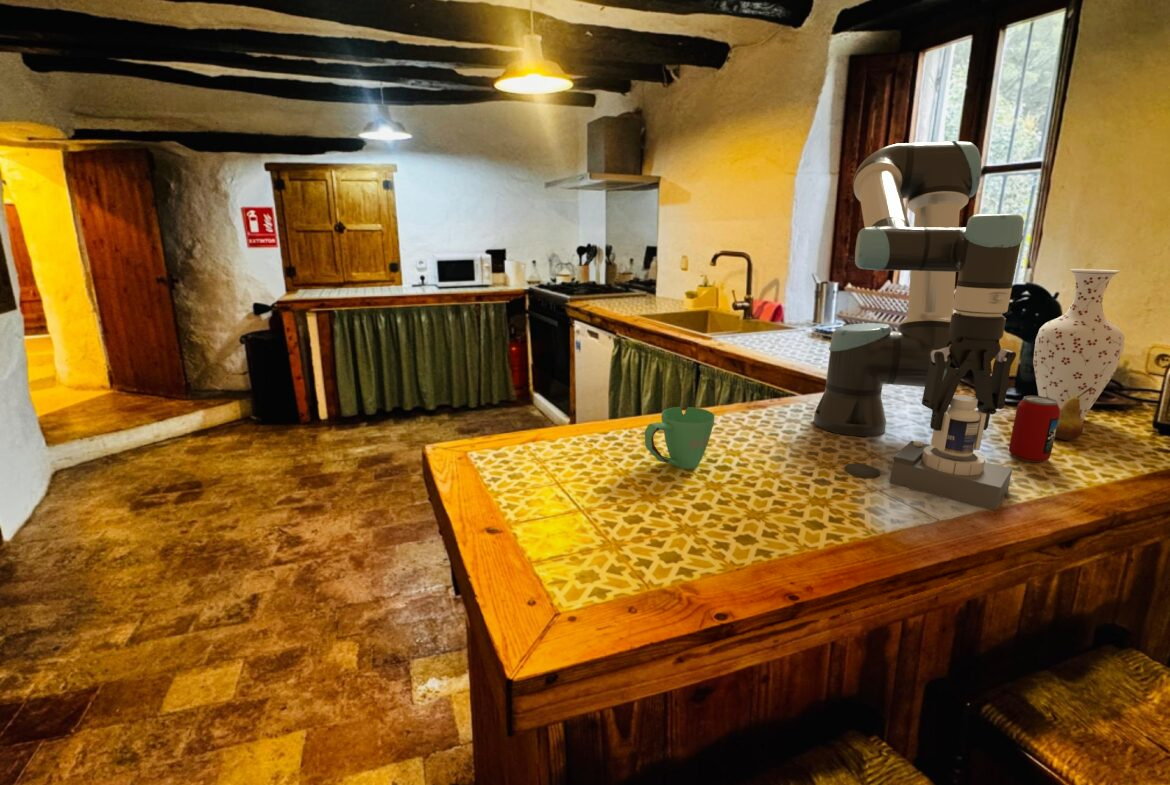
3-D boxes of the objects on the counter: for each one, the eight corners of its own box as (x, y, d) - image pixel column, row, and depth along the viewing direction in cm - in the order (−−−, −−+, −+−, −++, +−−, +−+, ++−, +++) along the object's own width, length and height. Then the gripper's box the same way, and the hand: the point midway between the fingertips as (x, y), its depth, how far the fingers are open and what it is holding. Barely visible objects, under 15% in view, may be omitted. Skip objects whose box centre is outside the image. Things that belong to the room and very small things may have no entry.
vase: (1005, 411, 149) (1034, 268, 140) (1046, 405, 155) (1076, 267, 146) (1078, 431, 135) (1115, 273, 125) (1120, 423, 141) (1158, 271, 131)
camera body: (889, 482, 107) (894, 451, 105) (907, 465, 115) (912, 435, 113) (995, 510, 96) (1003, 475, 95) (1008, 489, 104) (1014, 457, 103)
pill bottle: (929, 448, 105) (938, 395, 103) (951, 444, 107) (960, 392, 104) (957, 459, 100) (967, 403, 98) (980, 455, 102) (990, 400, 100)
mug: (686, 451, 121) (689, 404, 119) (722, 467, 113) (726, 416, 111) (629, 466, 113) (630, 416, 111) (663, 484, 106) (665, 430, 103)
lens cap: (837, 471, 112) (837, 467, 112) (856, 465, 116) (856, 461, 115) (867, 482, 108) (867, 478, 107) (886, 475, 111) (886, 471, 111)
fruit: (1060, 433, 133) (1071, 381, 130) (1086, 442, 128) (1099, 388, 125) (1040, 435, 132) (1052, 382, 129) (1066, 444, 126) (1079, 389, 123)
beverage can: (1056, 465, 115) (1070, 405, 112) (1017, 462, 117) (1029, 403, 113) (1038, 452, 122) (1050, 395, 118) (1001, 450, 123) (1012, 393, 120)
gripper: (937, 316, 93) (914, 455, 100) (1052, 316, 94) (1022, 455, 100) (910, 310, 101) (891, 440, 107) (1017, 310, 101) (991, 439, 108)
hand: (954, 447), depth 104 cm, fingers closed on pill bottle, 5 cm apart
